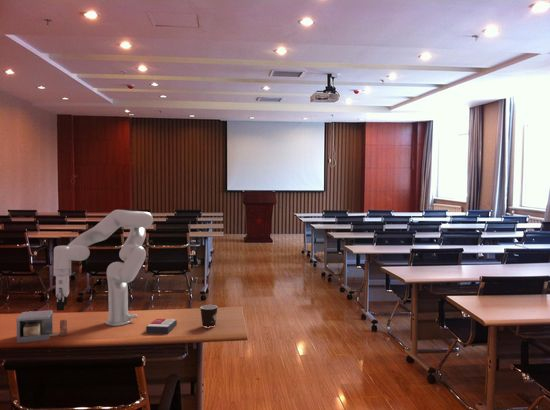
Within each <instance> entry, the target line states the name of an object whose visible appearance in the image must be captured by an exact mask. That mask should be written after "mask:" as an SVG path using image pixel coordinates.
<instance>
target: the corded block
mask: <svg viewBox="0 0 550 410" xmlns="http://www.w3.org/2000/svg"><path fill="white" fill-rule="evenodd" d="M23 331H24V336H31V335H41V334H40V323H32V324H26V325H25V326H24V328H23ZM54 336H60V337H65V336H68V320H67V319H60V321H59V333H50V334H49V337H54Z"/></svg>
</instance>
